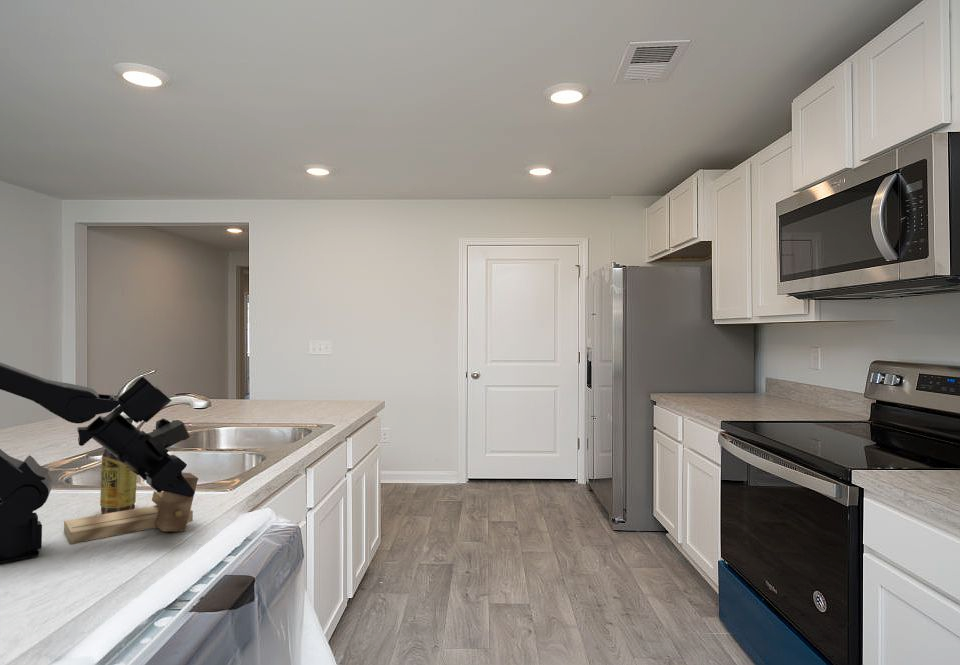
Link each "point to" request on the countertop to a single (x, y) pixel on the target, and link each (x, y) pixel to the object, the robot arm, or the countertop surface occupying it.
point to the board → (112, 524)
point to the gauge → (174, 507)
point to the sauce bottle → (116, 483)
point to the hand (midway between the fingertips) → (188, 491)
